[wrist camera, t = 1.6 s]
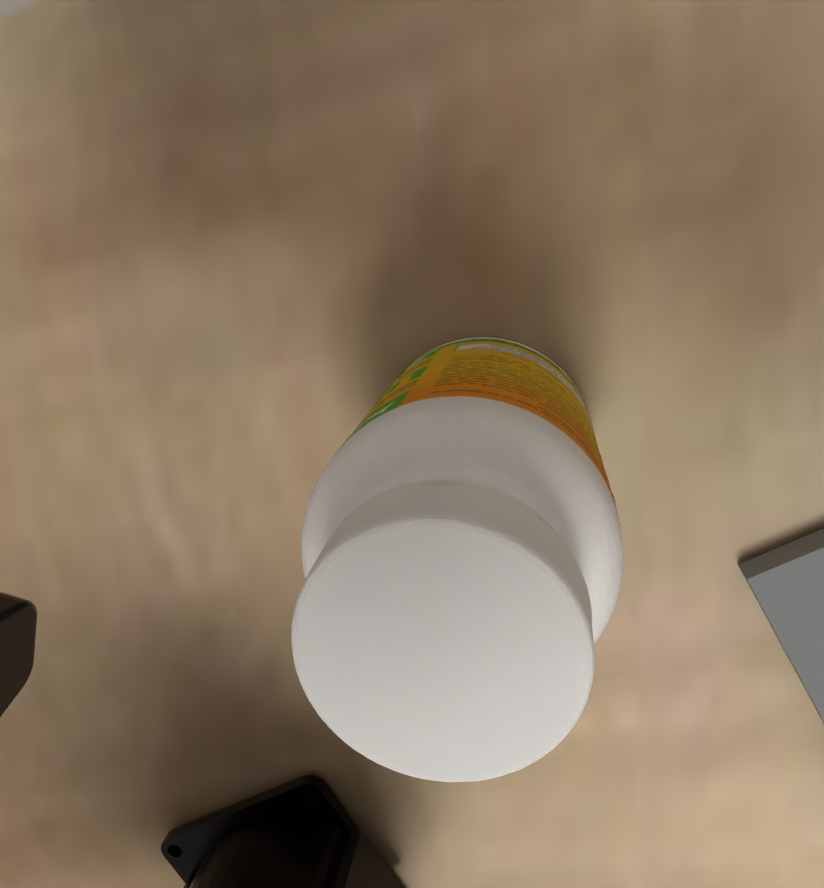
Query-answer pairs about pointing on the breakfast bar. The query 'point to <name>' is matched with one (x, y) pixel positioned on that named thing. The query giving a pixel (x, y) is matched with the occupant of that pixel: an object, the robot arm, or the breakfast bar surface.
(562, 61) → the breakfast bar surface
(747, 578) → the slate mat
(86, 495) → the breakfast bar surface
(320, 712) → the supplement bottle
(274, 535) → the breakfast bar surface
